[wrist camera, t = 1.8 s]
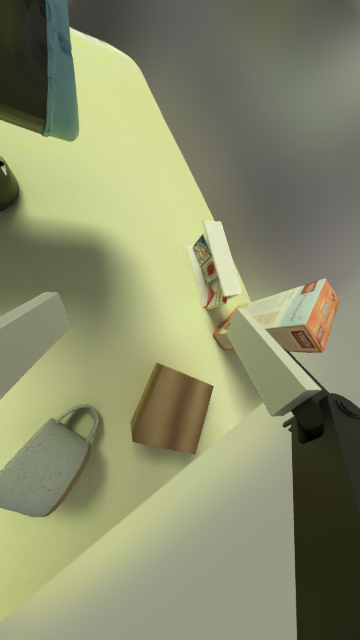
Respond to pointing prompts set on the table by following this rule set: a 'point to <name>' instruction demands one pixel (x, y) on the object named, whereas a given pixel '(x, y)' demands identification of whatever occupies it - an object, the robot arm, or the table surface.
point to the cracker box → (292, 317)
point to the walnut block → (171, 411)
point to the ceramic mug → (45, 468)
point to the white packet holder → (213, 267)
